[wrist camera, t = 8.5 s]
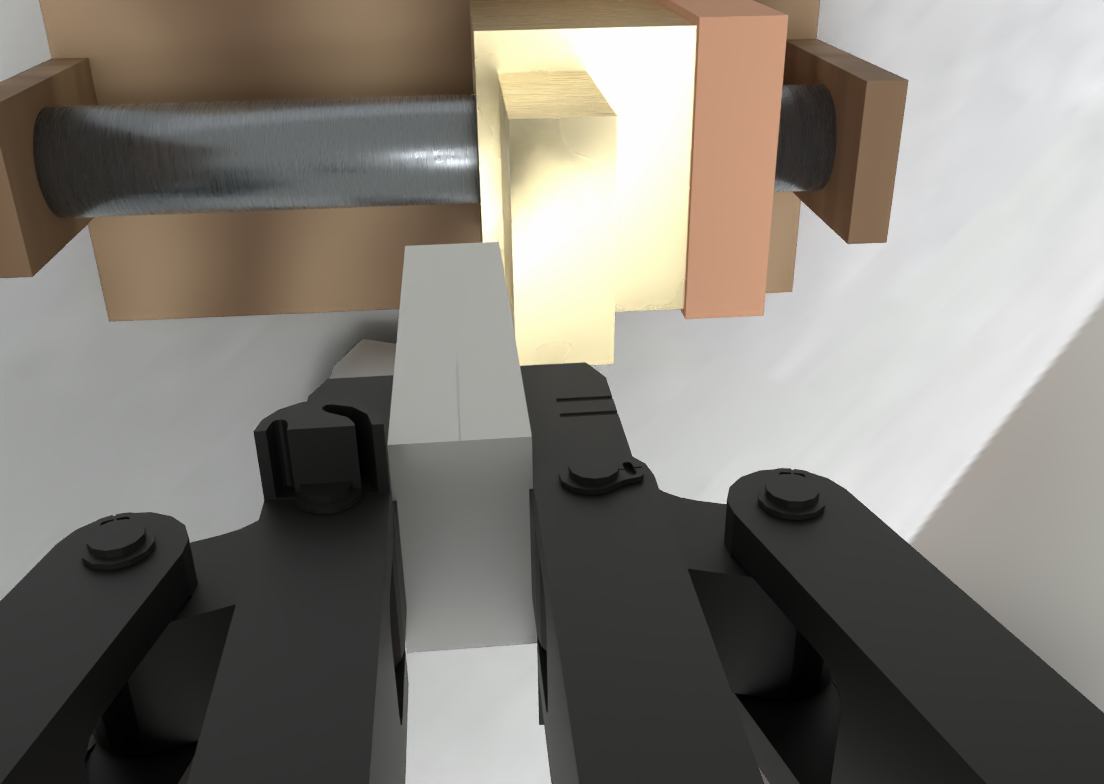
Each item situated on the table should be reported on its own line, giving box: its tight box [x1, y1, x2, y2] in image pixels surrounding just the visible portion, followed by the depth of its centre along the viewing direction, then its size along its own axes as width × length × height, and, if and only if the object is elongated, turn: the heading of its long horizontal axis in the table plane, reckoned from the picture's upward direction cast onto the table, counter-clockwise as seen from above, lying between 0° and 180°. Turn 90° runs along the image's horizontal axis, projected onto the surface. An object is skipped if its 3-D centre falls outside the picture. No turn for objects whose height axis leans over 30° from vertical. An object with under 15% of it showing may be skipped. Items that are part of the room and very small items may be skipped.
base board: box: [0, 0, 908, 322], centre depth 28 cm, size 22×12×8 cm, turn 91°
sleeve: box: [469, 0, 697, 366], centre depth 25 cm, size 5×7×12 cm
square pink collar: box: [657, 0, 788, 319], centre depth 28 cm, size 2×7×7 cm, turn 1°
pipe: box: [33, 84, 837, 218], centre depth 27 cm, size 21×3×3 cm, turn 91°
